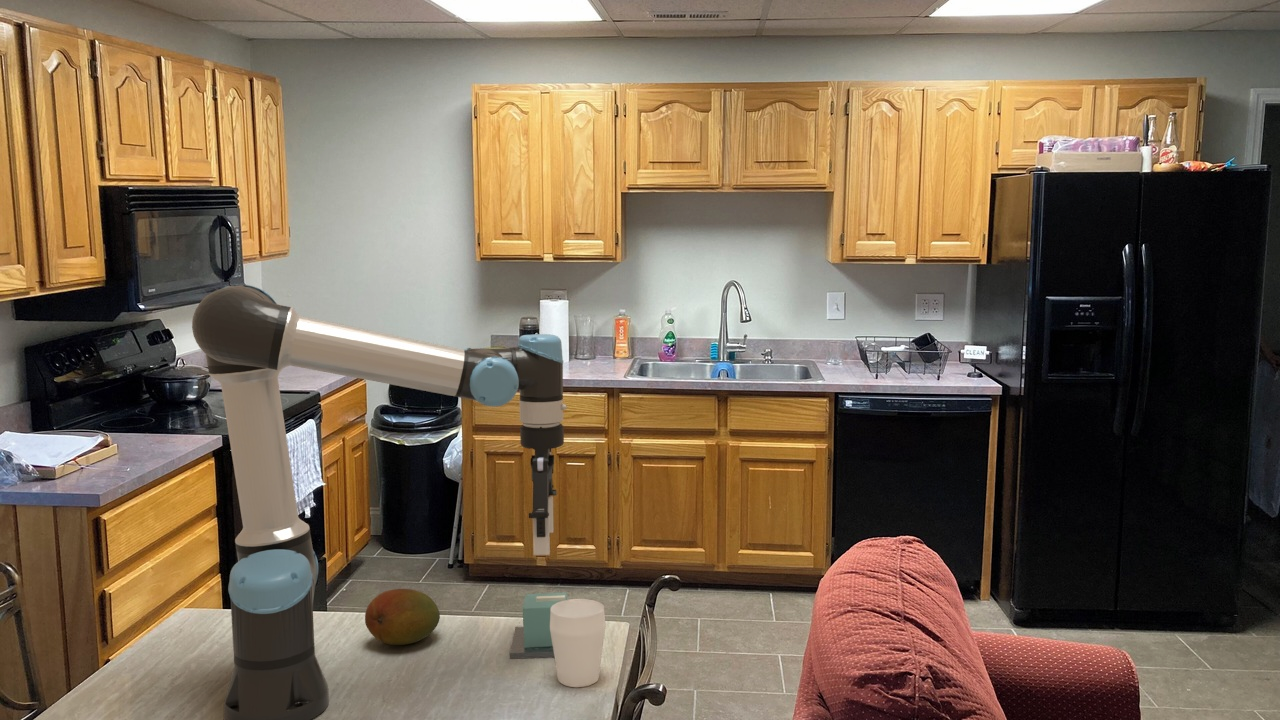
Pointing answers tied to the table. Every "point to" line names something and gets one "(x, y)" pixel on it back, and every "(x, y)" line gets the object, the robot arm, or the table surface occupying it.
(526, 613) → the teal block
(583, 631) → the cup
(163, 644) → the table surface
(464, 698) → the table surface
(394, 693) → the table surface
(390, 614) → the fruit
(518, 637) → the shaft fixture
